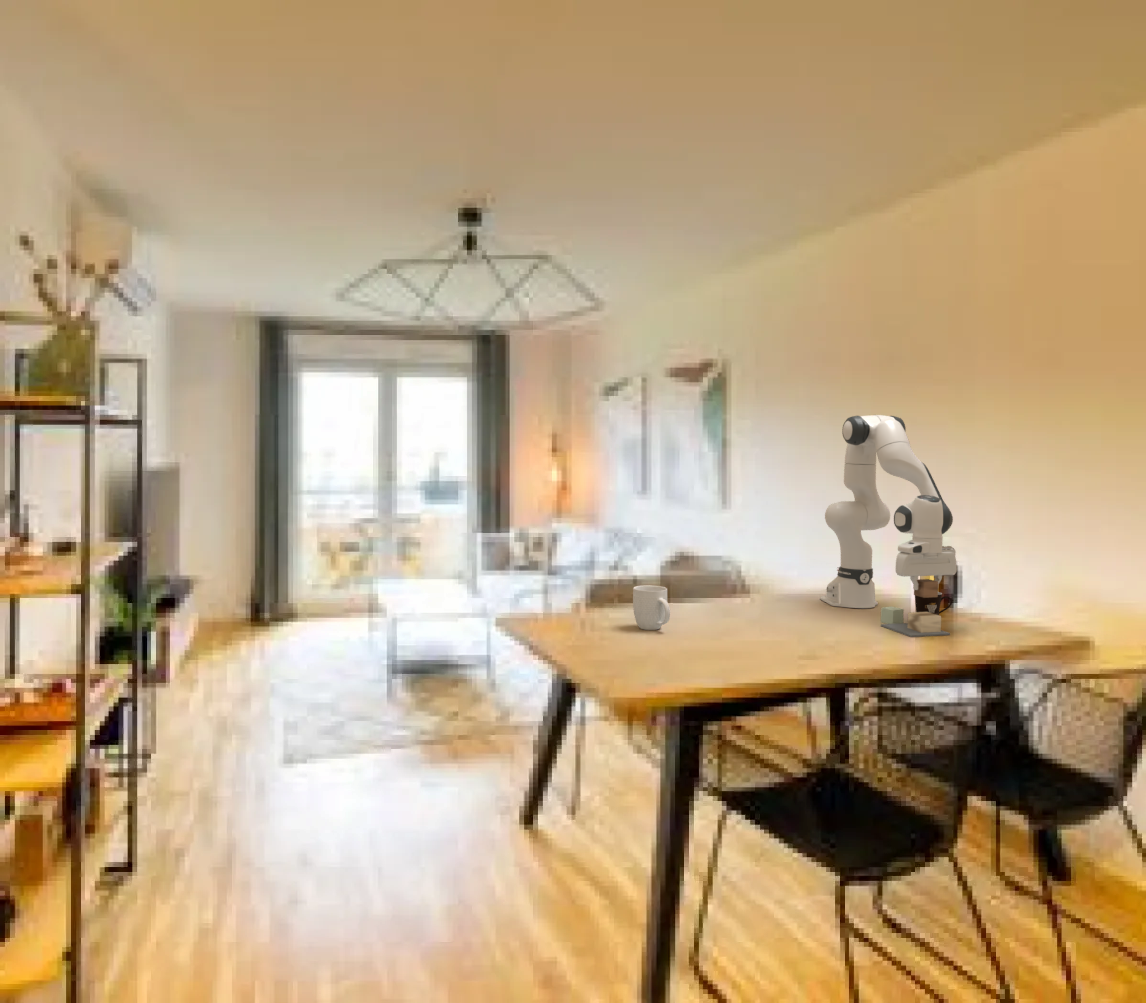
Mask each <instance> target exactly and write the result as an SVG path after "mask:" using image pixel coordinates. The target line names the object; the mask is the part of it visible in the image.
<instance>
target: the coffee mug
mask: <svg viewBox="0 0 1146 1003" xmlns="http://www.w3.org/2000/svg"><path fill="white" fill-rule="evenodd" d="M944 599H948V600H949V602H950V603H949V604H948V605H947V606H946V607H945V608H943V609H941V610H940V607H941V603H942V601H943V600H944ZM914 602H915V603H914V604H915V612H929V613H933V614H936V615H939V616H940V614H941V613H944V612H945V611H947V610H948V609H949V608H950V607H951V606H952V604H953V600H952V598H951V597H949V596H943V593H942V592H939V591H938V597H929V598H923V597H919V596H916V595H914Z"/></svg>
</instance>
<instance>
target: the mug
mask: <svg viewBox="0 0 1146 1003" xmlns="http://www.w3.org/2000/svg"><path fill="white" fill-rule="evenodd" d="M632 590H633V591H632V608H633V615H634V619H635V622H636V625H637V626H638V628H639V629H641V630H645V631H656V630H659V629H661V627H662V626H663V625H666V624H667V623H669V621H670V618H671V609H670V605H669V602H668V587H665V586H660V585H649V584H648V585H647V584H646V585H643V584H642V585H637V586H634V587H633V588H632Z"/></svg>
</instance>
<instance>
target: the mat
mask: <svg viewBox="0 0 1146 1003" xmlns="http://www.w3.org/2000/svg"><path fill="white" fill-rule="evenodd" d="M880 627H882V628H884V629H888V630H891V631H893V632H896V633H899V634H901V635H905V636H907V637H910V638H919V637H921V638H922V637H939V636H941V637H943V636H950V635H951V632H948V631H944V630H942V629H941V632H924V633H921V632H918V631H915V630H912V629H909V628H908V622H905V623H904V622H903V623H898V624H887V623H880Z"/></svg>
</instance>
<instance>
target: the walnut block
mask: <svg viewBox="0 0 1146 1003" xmlns="http://www.w3.org/2000/svg"><path fill="white" fill-rule="evenodd" d="M934 580H935V579H934ZM934 580H932V579H929V578H925V579H921V578H918V579H917V582H918V584H920V585H921V587H920V588H921V589H920V590H914V589H913V595H914V596H915V595H916V596H919V597H923V598H929V597H938V592H939V584H938V581H934Z"/></svg>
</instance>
